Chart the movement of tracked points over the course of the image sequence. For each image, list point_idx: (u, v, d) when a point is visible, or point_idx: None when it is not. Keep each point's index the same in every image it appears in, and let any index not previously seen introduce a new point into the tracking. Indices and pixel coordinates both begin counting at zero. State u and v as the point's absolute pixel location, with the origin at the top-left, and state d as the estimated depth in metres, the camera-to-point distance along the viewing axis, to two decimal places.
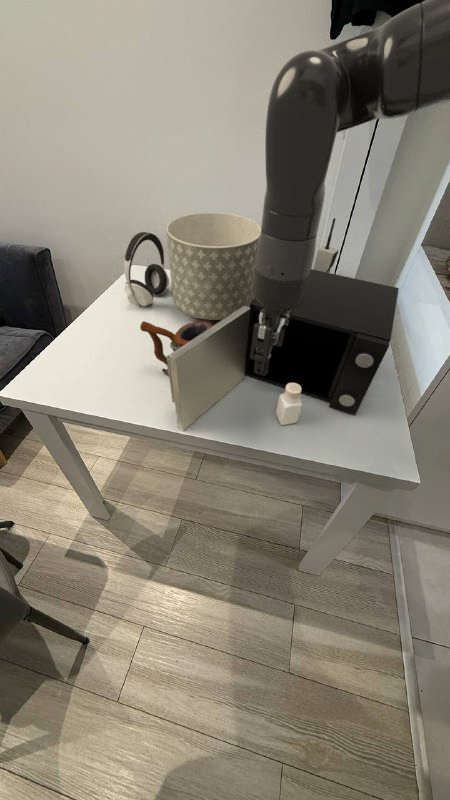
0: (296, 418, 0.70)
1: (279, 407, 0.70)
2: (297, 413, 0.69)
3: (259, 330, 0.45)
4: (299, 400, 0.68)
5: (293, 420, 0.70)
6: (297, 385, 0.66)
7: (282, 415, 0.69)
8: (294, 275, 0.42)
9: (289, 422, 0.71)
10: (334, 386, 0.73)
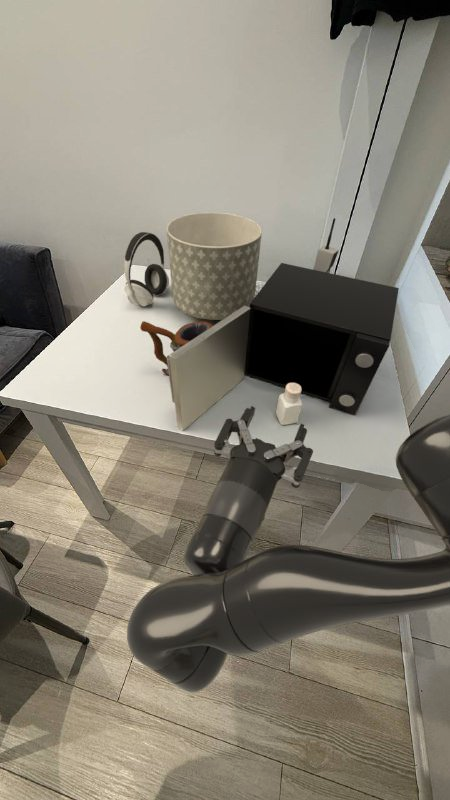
0: (296, 418, 0.70)
1: (279, 407, 0.70)
2: (297, 413, 0.69)
3: (300, 482, 0.47)
4: (299, 400, 0.68)
5: (293, 420, 0.70)
6: (297, 385, 0.66)
7: (282, 415, 0.69)
8: (261, 503, 0.41)
9: (289, 422, 0.71)
10: (334, 386, 0.73)
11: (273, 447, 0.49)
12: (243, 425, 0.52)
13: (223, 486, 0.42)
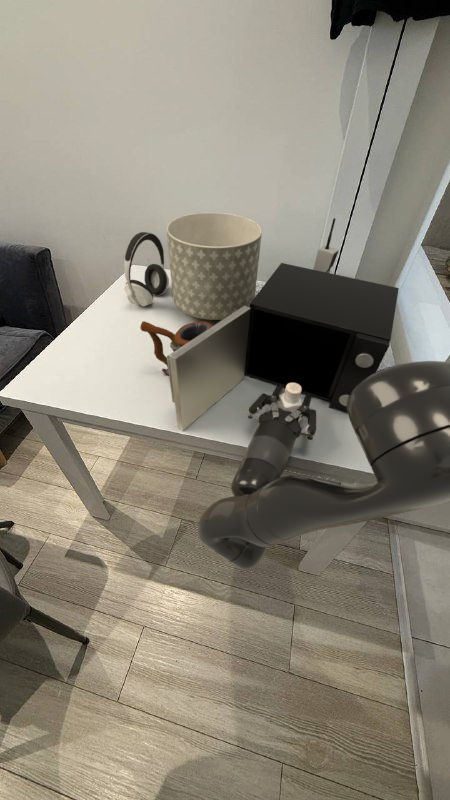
0: None
1: (279, 407, 0.70)
2: None
3: None
4: (299, 400, 0.68)
5: None
6: (297, 385, 0.66)
7: None
8: (285, 451, 0.57)
9: None
10: (334, 386, 0.73)
11: None
12: (275, 398, 0.67)
13: (257, 439, 0.57)
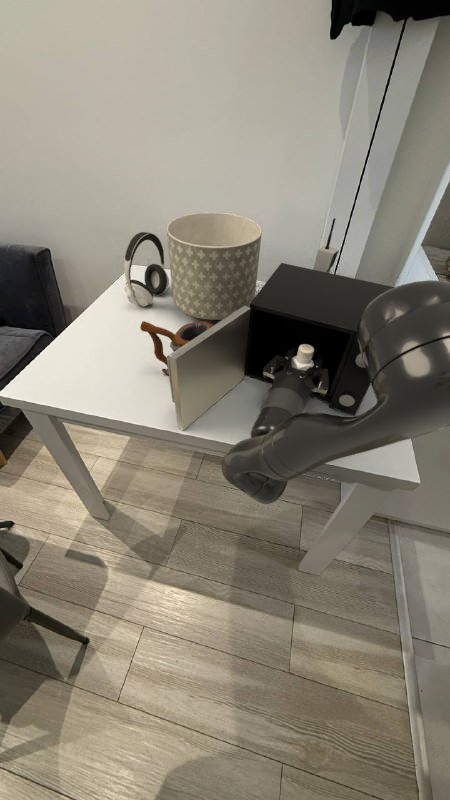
0: None
1: None
2: None
3: (326, 391, 0.66)
4: (311, 361, 0.71)
5: None
6: (310, 346, 0.69)
7: None
8: (301, 401, 0.60)
9: None
10: (334, 386, 0.73)
11: None
12: (289, 359, 0.70)
13: (274, 391, 0.60)
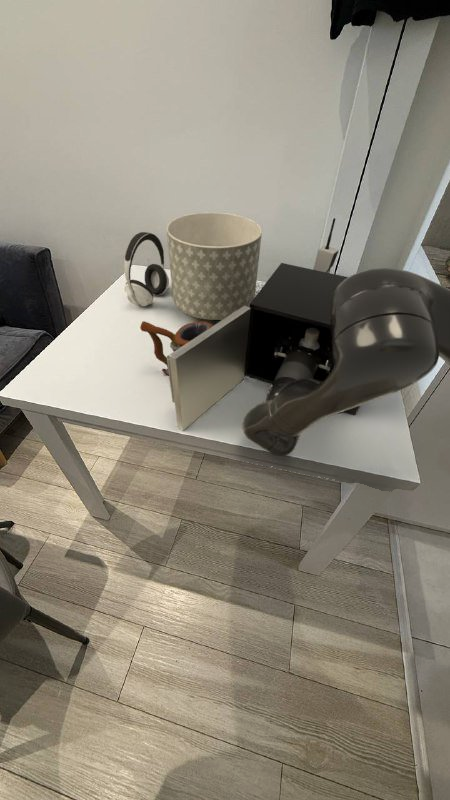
0: None
1: None
2: None
3: (331, 369, 0.74)
4: (317, 343, 0.80)
5: None
6: (316, 329, 0.78)
7: None
8: (309, 373, 0.68)
9: None
10: None
11: (313, 350, 0.76)
12: (291, 339, 0.79)
13: (286, 364, 0.69)
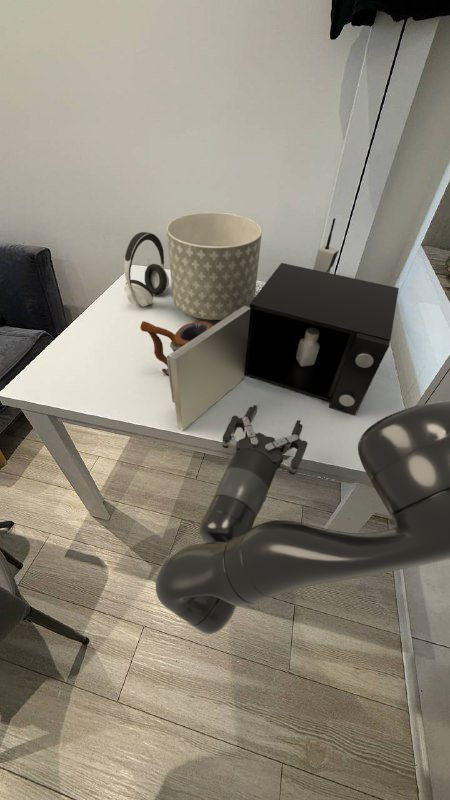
0: (314, 360, 0.82)
1: (299, 350, 0.82)
2: (315, 355, 0.81)
3: (296, 470, 0.55)
4: (317, 343, 0.80)
5: (311, 361, 0.83)
6: (316, 329, 0.78)
7: (302, 356, 0.81)
8: (263, 486, 0.49)
9: (308, 364, 0.83)
10: (334, 386, 0.73)
11: (273, 440, 0.57)
12: (247, 421, 0.60)
13: (231, 472, 0.50)
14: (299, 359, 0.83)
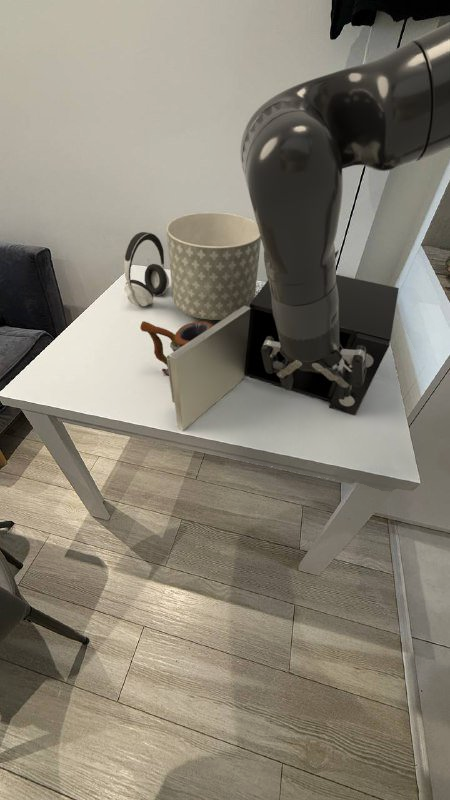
0: None
1: None
2: None
3: (363, 357, 0.41)
4: None
5: None
6: None
7: None
8: None
9: None
10: (334, 386, 0.73)
11: None
12: None
13: None
14: None
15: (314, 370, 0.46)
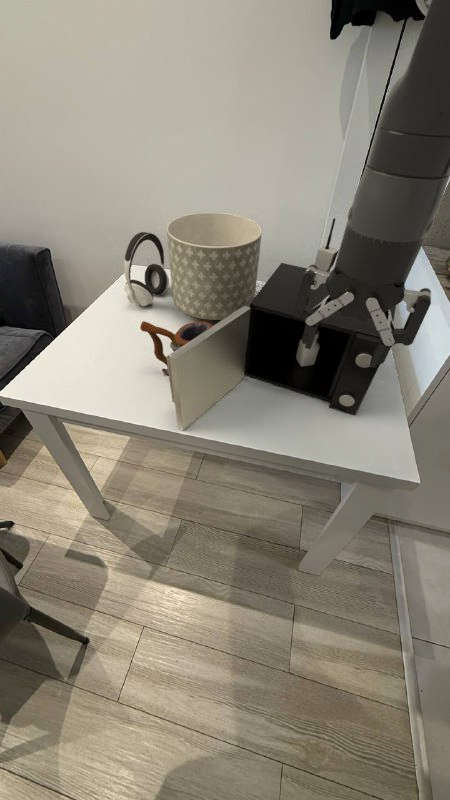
0: (314, 360, 0.82)
1: (299, 350, 0.82)
2: (315, 355, 0.81)
3: None
4: (317, 343, 0.80)
5: (311, 361, 0.83)
6: None
7: (302, 356, 0.81)
8: None
9: (308, 364, 0.83)
10: (334, 386, 0.73)
11: None
12: None
13: None
14: (299, 359, 0.83)
15: (360, 315, 0.38)
